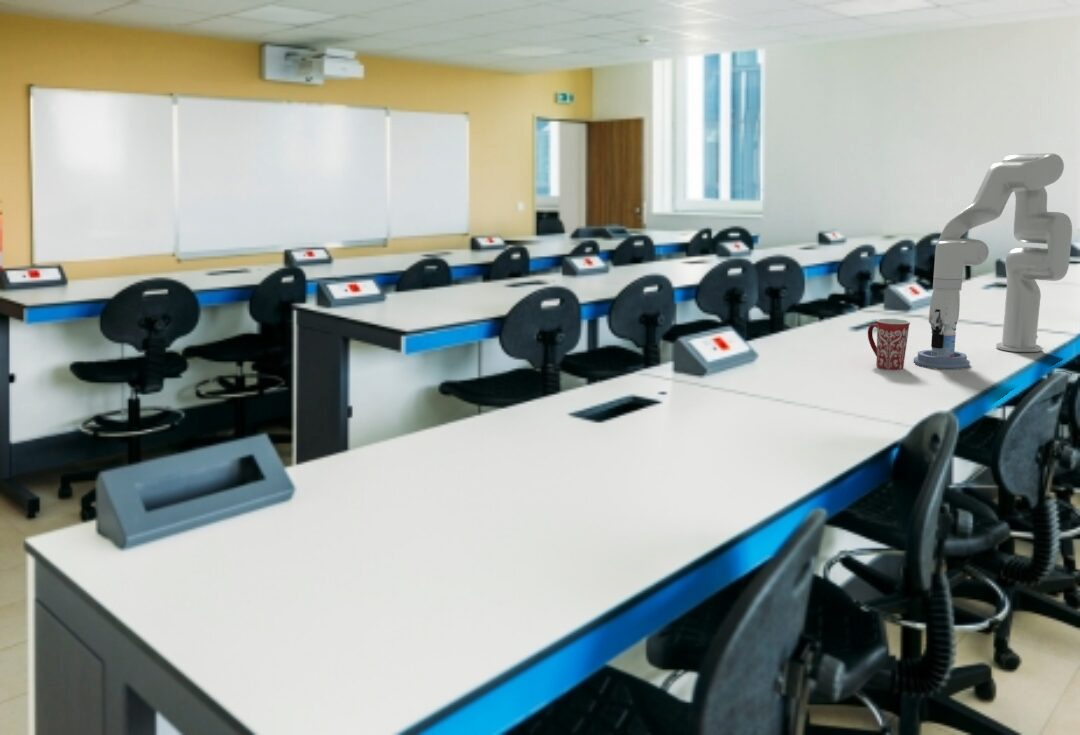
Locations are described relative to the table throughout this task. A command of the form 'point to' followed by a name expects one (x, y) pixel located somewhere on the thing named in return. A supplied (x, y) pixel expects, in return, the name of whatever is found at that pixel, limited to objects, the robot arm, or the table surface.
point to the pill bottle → (946, 342)
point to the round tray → (941, 360)
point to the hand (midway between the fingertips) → (942, 345)
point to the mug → (890, 342)
